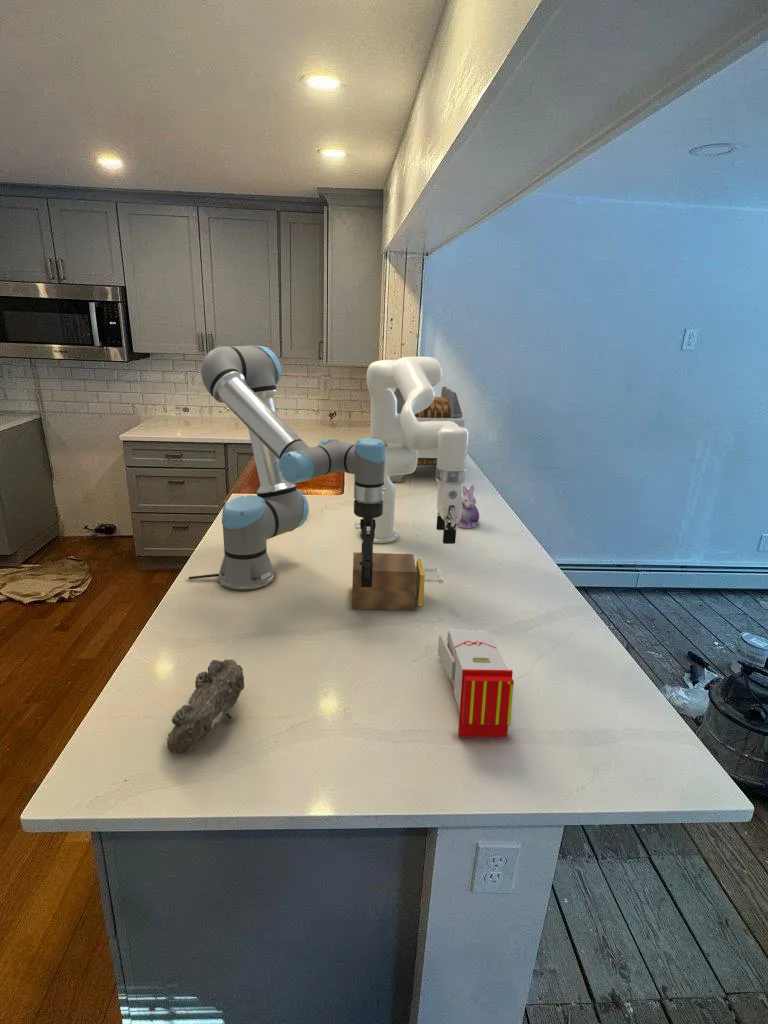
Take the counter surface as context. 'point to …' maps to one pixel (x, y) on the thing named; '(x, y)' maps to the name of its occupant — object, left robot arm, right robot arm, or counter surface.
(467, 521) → the figurine
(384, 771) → the counter surface
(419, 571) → the drawer
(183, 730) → the fossil
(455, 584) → the counter surface
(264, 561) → the left robot arm
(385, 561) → the cabinet
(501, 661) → the toy
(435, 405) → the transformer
